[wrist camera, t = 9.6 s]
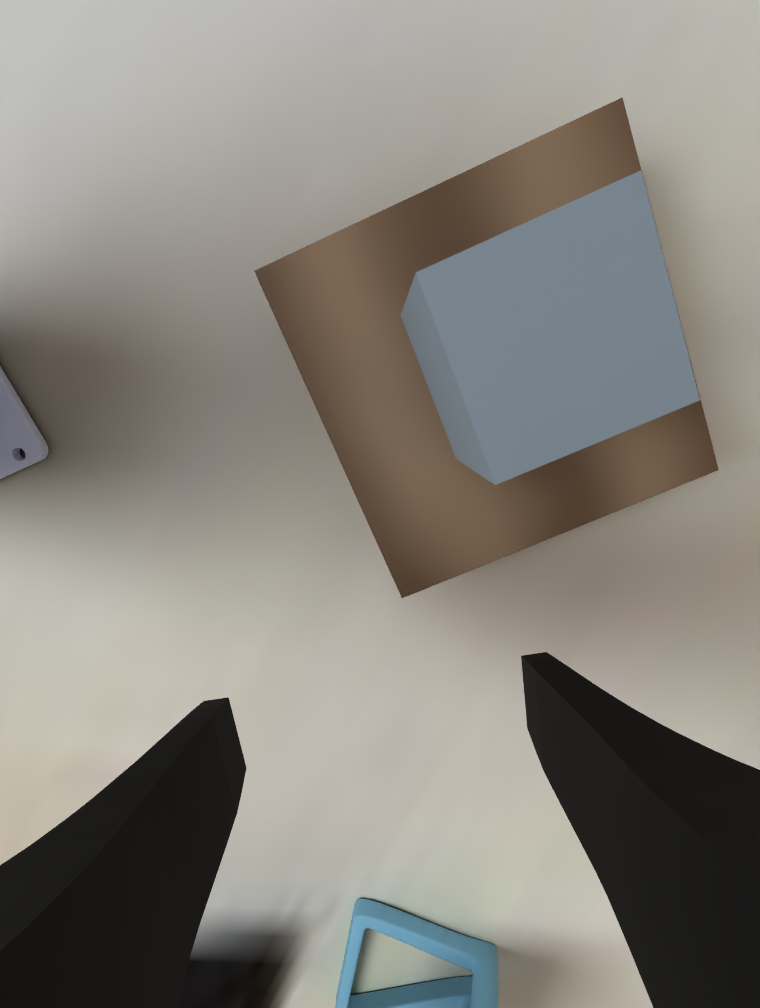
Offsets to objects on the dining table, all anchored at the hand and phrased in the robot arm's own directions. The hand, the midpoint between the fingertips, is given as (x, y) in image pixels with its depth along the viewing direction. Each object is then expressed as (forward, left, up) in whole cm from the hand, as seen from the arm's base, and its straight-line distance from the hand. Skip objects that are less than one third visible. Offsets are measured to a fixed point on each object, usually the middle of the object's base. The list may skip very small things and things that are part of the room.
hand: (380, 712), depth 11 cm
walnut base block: (+7, +6, -10) cm, 13 cm away
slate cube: (+7, +6, -6) cm, 11 cm away
